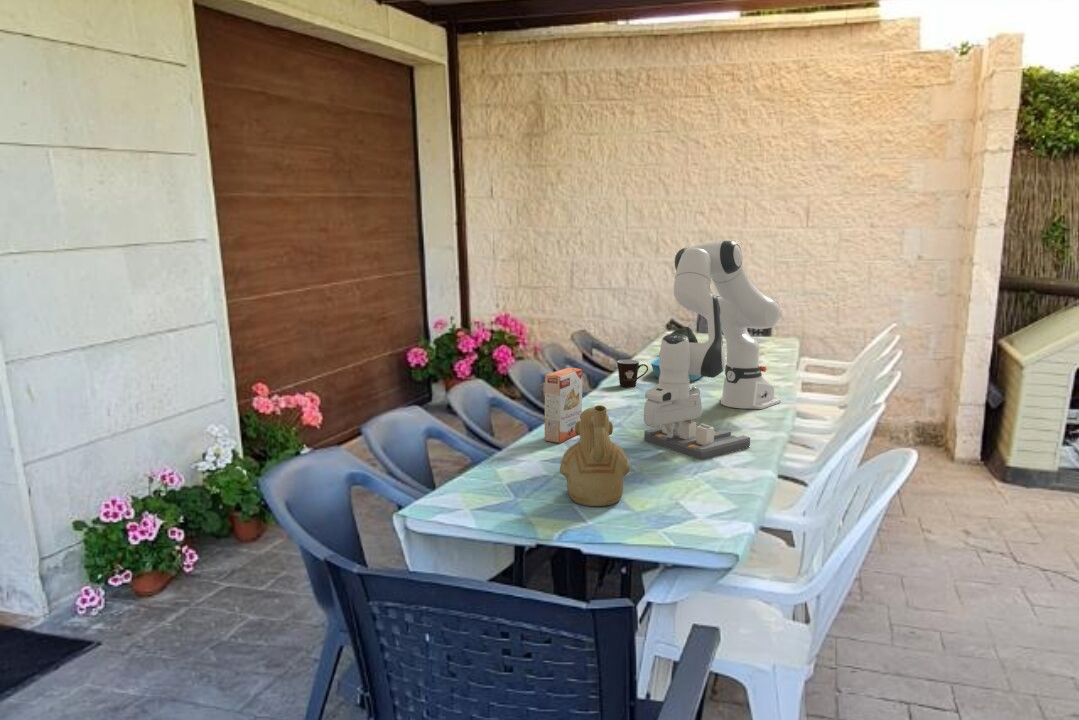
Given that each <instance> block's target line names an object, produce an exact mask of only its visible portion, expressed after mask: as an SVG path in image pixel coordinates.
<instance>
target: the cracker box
mask: <svg viewBox="0 0 1079 720" xmlns="http://www.w3.org/2000/svg"><path fill="white" fill-rule="evenodd" d="M583 372H584V371H583V369H581V368H575V367H566V368H563V369H560V370H556V371H553V372H550V373H547V374H545V375H544V442H551V443H555V444H562V443H563V442H565V441H567V440H570V439H572V438H574V437H576V436H577V435H576V433H575V424H576V423H577V422H578V421H581V419H580V415H581V413H582V412H583Z"/></svg>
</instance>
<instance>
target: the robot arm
mask: <svg viewBox="0 0 1079 720" xmlns="http://www.w3.org/2000/svg"><path fill="white" fill-rule="evenodd" d="M674 256H675V257H674V268H675V271H676V272H675V275H674V281H673V296H674V298H675V301H676V302H677V303H678V304H679V305H680V306H682V307H683V308H684V309H686V310H688V311H691V312H693V313H696V314H698V315H700V316H702V317H704V318H705V320H707V335H708V336H707V337H708V340H707V341H706V342H698V343H690V342H689V340H688V337H687V336H685V335H682V334H671V333H670V334H667V335H664V336H663V337H662V338H661V343H660V348H659V354H658V357H659V367H660V377H659V378H658V383H657V384H656V385H654V386H653V387H651V388H650V389H648V390H647V391H645V393H644V397H645V399H647V400H646V401H645V403H644V408H643V423H644V424H645V426H647V427H651V428H658V427H662V425H665V428H666V430H667V431H668V437H670V438H672V437H677V436H679V430H680V428H681V426H682V421H685V420H693V419H698V418H701V416H702V413H703V406H702V398H701V390H700V389H699V388H698V387H697V386H692V387H691V383H690V382H691V381H690V379H689V375H700V376H701V377H706V378H713V379H714V378H715V377H718V376H719V375H721V374H722V373H723V372H724V374H725V378H724V381H723V388H722V395H721V396H720V399H719V400H720V404H721V405H723V406H724V407H728V408H732V409H733V408H735V409H754V410H763V409H766V408H769V407H771V406H775V405H776V404H780V403H781V402H782V400H781V398H779V397H776V396H775V388H774V385H773V384H772V383H770V382H769V381H768V380H767V379H766V378H765V377H764V376H763V373H765V372H767V366H765V365H764V366H763V365H760V364H759V363H760V362H759V360H760V345H759V343H758V341H757V340H756V339H754V338H753V337H752V336H751V335H750V333H749V331H748V329H756V330H765V329H771V328H774V327H775V326H776V325H777V324H778V322H779V320H780V319H781V318H780V317H781V309H780V306H779V304H778V303H777V301H775V300H773V299H771V298H769V297H768V296H766V295H765V294H763V293H762V292H761V291H760V290H759V289H758V288H757V287H756V286H755V285H754V283H752V282H751V280H750V279H749V277H748V275H747V272H746V270H745V269H744V266H743V251H742V249H741V246H740V245H739V244H738V243H737V242H735V241H733V240H723V241H710V242H709V241H708V242H705V243H700V244H696V245H694V246H686V247H684V248H681V249H679V250H678V251H677V252H676V255H674ZM711 281H712V282H713V285H714V287H715V289H716V291H717V294H718V295H719V296H716V295H715V294H713V292H712V290H711V283H712V282H711ZM723 336H724V339H725V343H726V353H725V350H724V343H723V342H724V341H723ZM725 354H726V355H725ZM762 372H763V373H762ZM673 423H674V424H675V426H674V428H673V429H672V427H673Z"/></svg>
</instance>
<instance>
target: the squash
mask: <svg viewBox="0 0 1079 720" xmlns="http://www.w3.org/2000/svg"><path fill="white" fill-rule="evenodd" d="M670 334H682V335H685V336H687V337H688V340H689V342H690V343H699V342H698V338H697V336H696V335H695V334H694V332H693V330H692V329H691V327H689V326H683V327H680V328H679V329H676V330H673V332H671V333H670Z"/></svg>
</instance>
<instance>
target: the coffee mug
mask: <svg viewBox="0 0 1079 720" xmlns="http://www.w3.org/2000/svg"><path fill="white" fill-rule="evenodd" d="M616 363H617V371H618V372H617V373H618V380H619V381H618V383H619V387H620V388H623V387H624V388H625V389H629V388H628V387H633V388H636V387H637V381H638V380H639V379H640V378H642V377H643V376H645V375H646V374H647V372H648V371H649V367H648V365H647V364H645V363H642V364H640V361H639V360H636V359H620V360H617V362H616ZM642 366H644V367H645V368H646V370H645V371H644V372H643V373H642V374H640V375H639V376H638V374H639V373H638V372H639V369H640V368H641V367H642ZM635 386H636V387H635Z"/></svg>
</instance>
